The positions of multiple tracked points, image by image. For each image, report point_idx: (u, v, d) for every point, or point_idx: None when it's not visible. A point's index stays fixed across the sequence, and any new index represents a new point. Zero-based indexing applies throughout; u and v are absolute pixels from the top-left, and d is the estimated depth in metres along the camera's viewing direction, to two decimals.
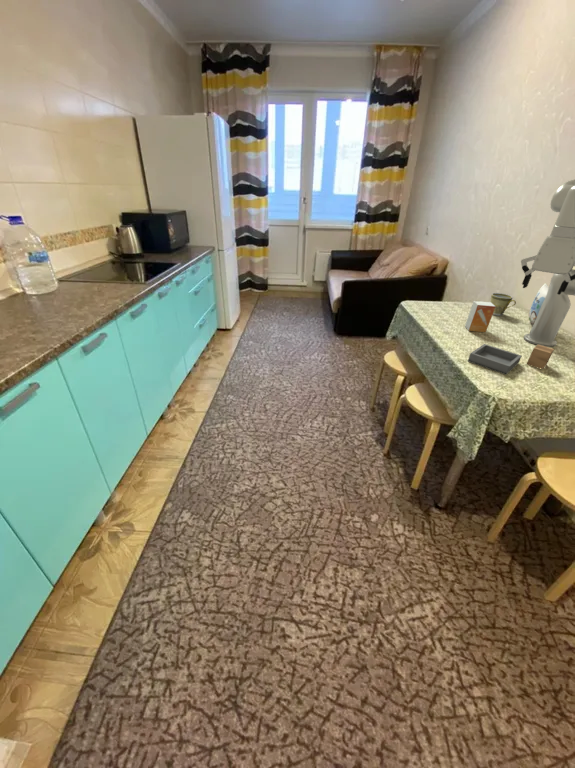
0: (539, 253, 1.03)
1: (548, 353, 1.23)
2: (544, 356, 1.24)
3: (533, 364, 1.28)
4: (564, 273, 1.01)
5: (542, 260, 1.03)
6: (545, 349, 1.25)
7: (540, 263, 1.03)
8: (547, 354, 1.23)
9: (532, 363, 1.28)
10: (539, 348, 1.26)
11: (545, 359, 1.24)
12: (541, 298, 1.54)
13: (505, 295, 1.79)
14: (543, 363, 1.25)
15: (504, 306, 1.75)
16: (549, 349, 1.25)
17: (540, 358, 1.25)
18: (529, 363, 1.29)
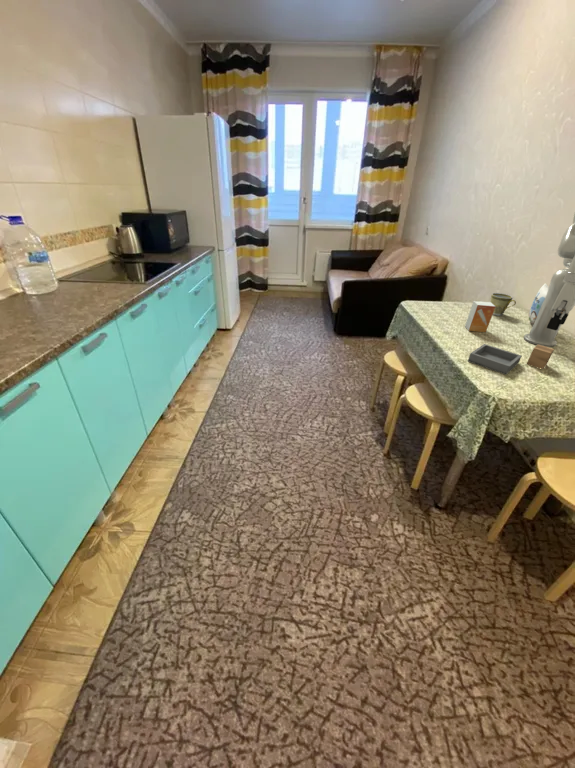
0: (573, 300, 1.11)
1: (548, 353, 1.23)
2: (544, 356, 1.24)
3: (533, 364, 1.28)
4: None
5: (573, 304, 1.13)
6: (545, 349, 1.25)
7: (571, 307, 1.13)
8: (547, 354, 1.23)
9: (532, 363, 1.28)
10: (539, 348, 1.26)
11: (545, 359, 1.24)
12: (541, 298, 1.54)
13: (505, 295, 1.79)
14: (543, 363, 1.25)
15: (504, 306, 1.75)
16: (549, 349, 1.25)
17: (540, 358, 1.25)
18: (529, 363, 1.29)
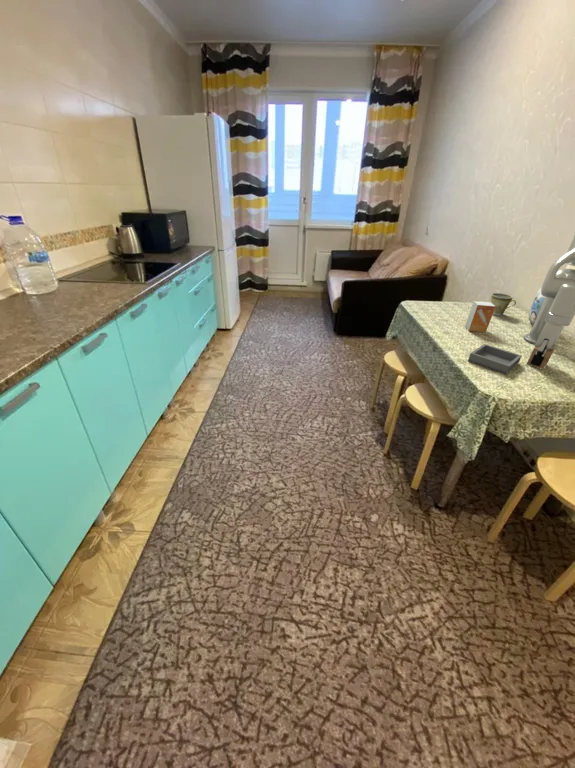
0: (554, 338, 1.19)
1: (548, 353, 1.23)
2: (544, 356, 1.24)
3: None
4: None
5: (554, 342, 1.21)
6: None
7: (552, 344, 1.21)
8: (547, 354, 1.23)
9: None
10: None
11: (545, 359, 1.24)
12: (541, 298, 1.54)
13: (505, 295, 1.79)
14: (543, 363, 1.25)
15: (504, 306, 1.75)
16: None
17: None
18: (529, 363, 1.29)
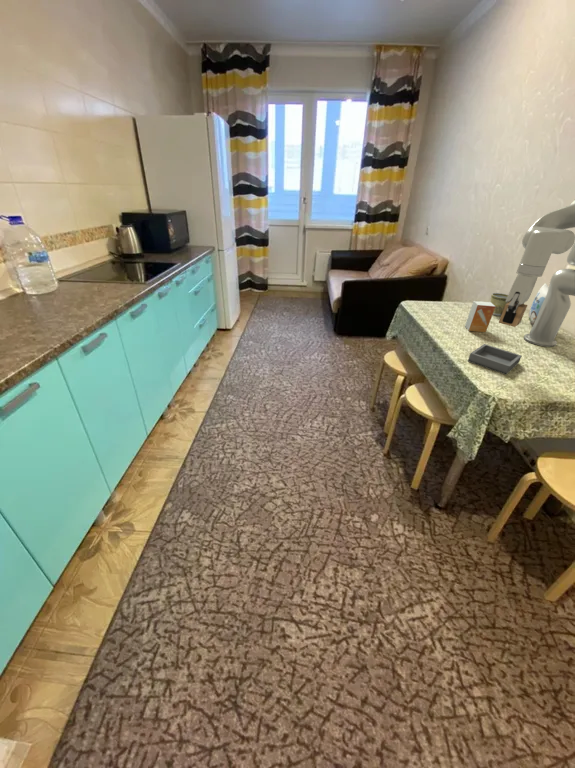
0: (526, 291, 1.11)
1: (520, 308, 1.15)
2: (516, 312, 1.16)
3: None
4: None
5: (526, 296, 1.12)
6: None
7: (524, 298, 1.13)
8: (519, 310, 1.15)
9: None
10: None
11: (517, 315, 1.16)
12: (541, 298, 1.54)
13: (505, 295, 1.79)
14: (515, 320, 1.17)
15: (504, 306, 1.75)
16: (521, 305, 1.17)
17: None
18: (501, 321, 1.20)
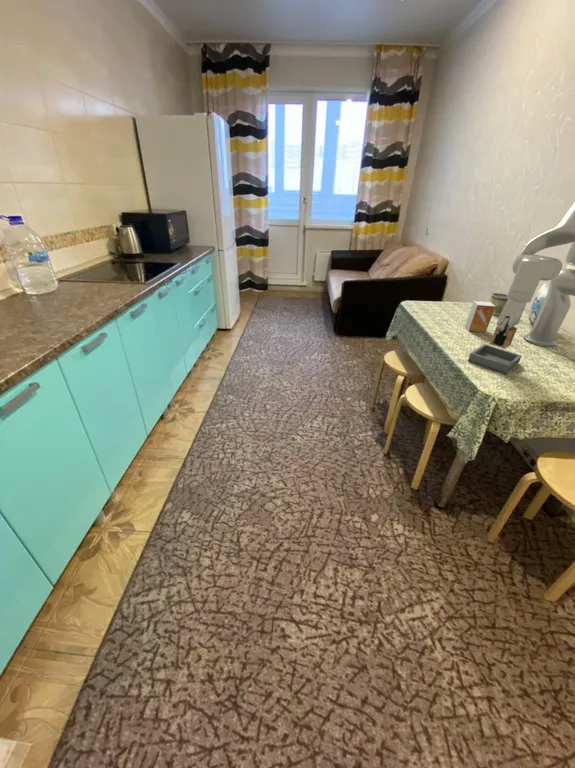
0: (515, 316, 1.15)
1: (510, 331, 1.19)
2: (506, 335, 1.20)
3: None
4: None
5: (515, 320, 1.17)
6: None
7: (514, 322, 1.17)
8: (509, 333, 1.20)
9: None
10: None
11: (507, 338, 1.21)
12: (541, 298, 1.54)
13: (505, 295, 1.79)
14: (506, 342, 1.21)
15: None
16: (511, 328, 1.21)
17: None
18: (492, 343, 1.25)
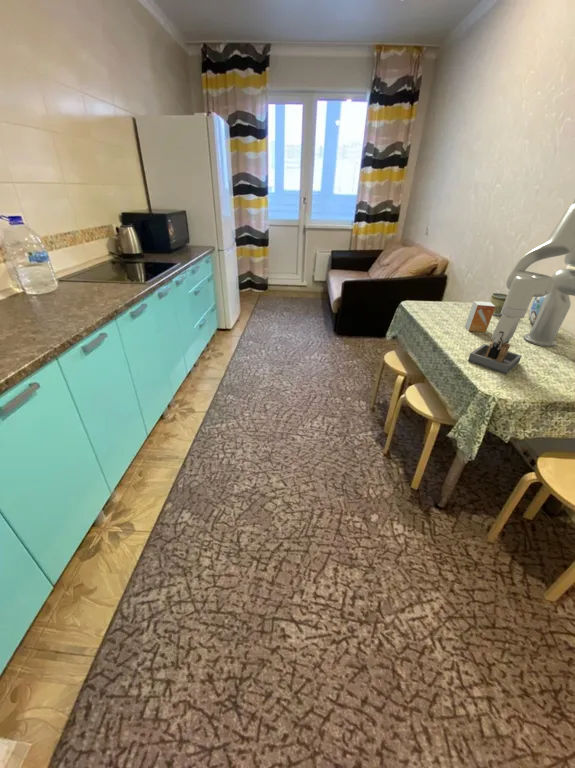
0: (509, 331, 1.18)
1: (503, 349, 1.23)
2: (500, 352, 1.24)
3: None
4: None
5: (509, 335, 1.20)
6: None
7: (508, 337, 1.20)
8: (502, 350, 1.23)
9: (489, 358, 1.28)
10: None
11: (501, 355, 1.24)
12: (541, 298, 1.54)
13: (505, 295, 1.79)
14: (499, 359, 1.25)
15: None
16: (505, 345, 1.25)
17: None
18: None
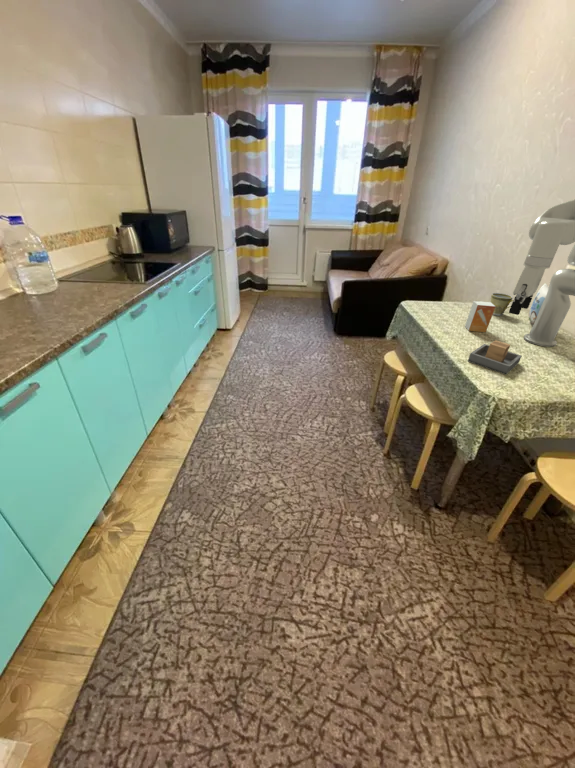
0: (533, 283, 1.10)
1: (503, 349, 1.23)
2: (500, 352, 1.24)
3: None
4: None
5: (533, 288, 1.12)
6: (501, 345, 1.25)
7: (531, 291, 1.12)
8: (502, 350, 1.23)
9: (489, 358, 1.28)
10: (495, 344, 1.26)
11: (501, 355, 1.24)
12: (541, 298, 1.54)
13: (505, 295, 1.79)
14: (499, 359, 1.25)
15: (504, 306, 1.75)
16: (505, 345, 1.25)
17: (496, 354, 1.25)
18: None
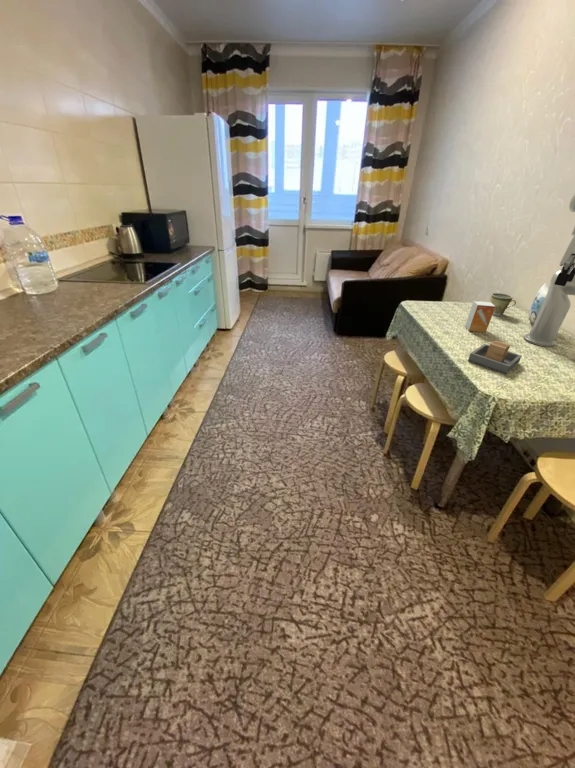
0: None
1: (503, 349, 1.23)
2: (500, 352, 1.24)
3: None
4: None
5: None
6: (501, 345, 1.25)
7: None
8: (502, 350, 1.23)
9: (489, 358, 1.28)
10: (495, 344, 1.26)
11: (501, 355, 1.24)
12: (541, 298, 1.54)
13: (505, 295, 1.79)
14: (499, 359, 1.25)
15: (504, 306, 1.75)
16: (505, 345, 1.25)
17: (496, 354, 1.25)
18: None
